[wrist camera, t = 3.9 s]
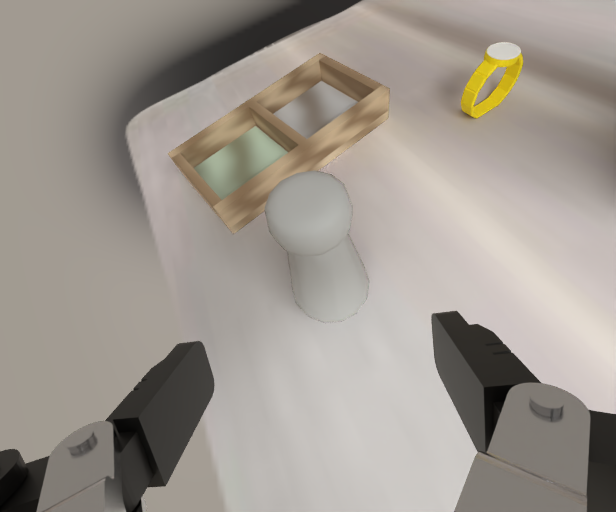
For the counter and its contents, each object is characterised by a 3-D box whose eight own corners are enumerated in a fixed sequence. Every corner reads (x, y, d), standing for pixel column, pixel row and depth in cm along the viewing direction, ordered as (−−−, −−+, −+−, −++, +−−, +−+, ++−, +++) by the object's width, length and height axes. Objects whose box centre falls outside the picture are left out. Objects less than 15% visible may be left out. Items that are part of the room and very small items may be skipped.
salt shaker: (293, 274, 27) (237, 169, 16) (356, 256, 27) (344, 135, 16) (308, 339, 24) (253, 266, 13) (379, 319, 24) (385, 227, 13)
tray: (322, 80, 40) (318, 52, 37) (388, 118, 34) (389, 88, 31) (183, 175, 36) (166, 152, 33) (233, 234, 31) (218, 213, 28)
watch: (491, 92, 34) (516, 31, 29) (513, 104, 32) (543, 42, 27) (449, 116, 33) (467, 56, 28) (469, 129, 31) (492, 69, 26)
